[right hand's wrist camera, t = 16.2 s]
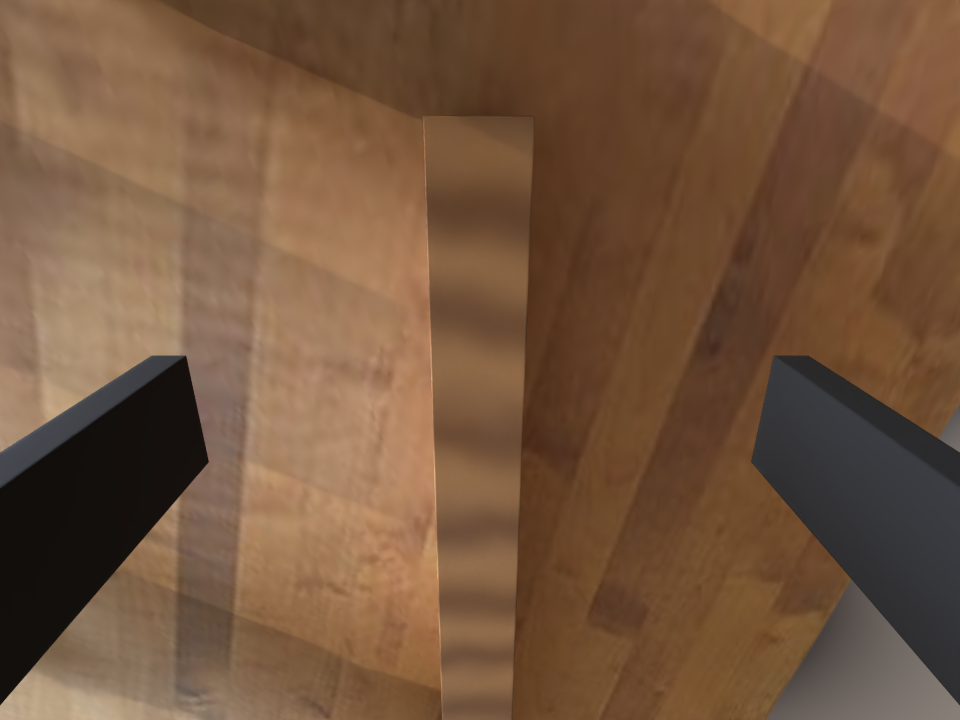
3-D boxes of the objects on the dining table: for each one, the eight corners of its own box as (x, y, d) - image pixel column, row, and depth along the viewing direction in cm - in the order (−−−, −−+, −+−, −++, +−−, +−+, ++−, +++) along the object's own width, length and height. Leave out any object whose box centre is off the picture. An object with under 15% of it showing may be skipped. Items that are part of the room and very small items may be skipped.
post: (435, 122, 32) (422, 115, 25) (522, 122, 32) (534, 116, 25) (450, 756, 54) (446, 852, 46) (503, 756, 54) (507, 852, 46)
